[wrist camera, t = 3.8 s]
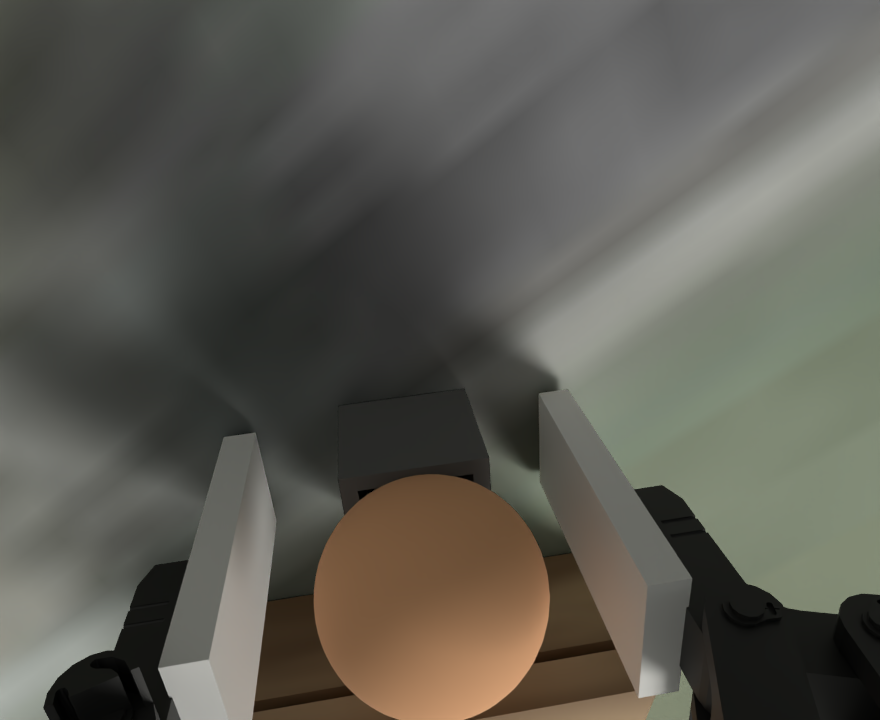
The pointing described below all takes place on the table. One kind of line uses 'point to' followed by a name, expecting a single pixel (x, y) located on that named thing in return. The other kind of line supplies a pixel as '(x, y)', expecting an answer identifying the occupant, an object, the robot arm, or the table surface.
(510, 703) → the brown open box
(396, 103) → the table surface
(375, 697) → the ball
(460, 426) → the hollow square sleeve
